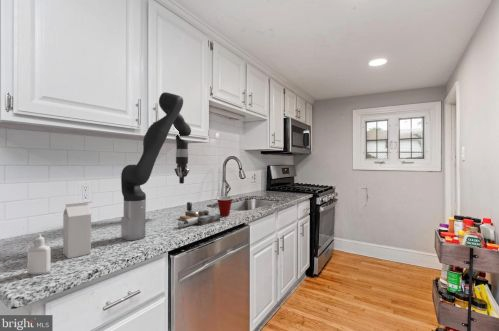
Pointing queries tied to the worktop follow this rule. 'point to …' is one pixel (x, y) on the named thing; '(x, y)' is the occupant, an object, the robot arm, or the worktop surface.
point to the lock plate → (202, 217)
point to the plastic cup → (224, 205)
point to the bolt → (189, 208)
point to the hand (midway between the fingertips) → (181, 183)
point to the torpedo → (188, 222)
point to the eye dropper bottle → (38, 257)
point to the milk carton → (76, 230)
